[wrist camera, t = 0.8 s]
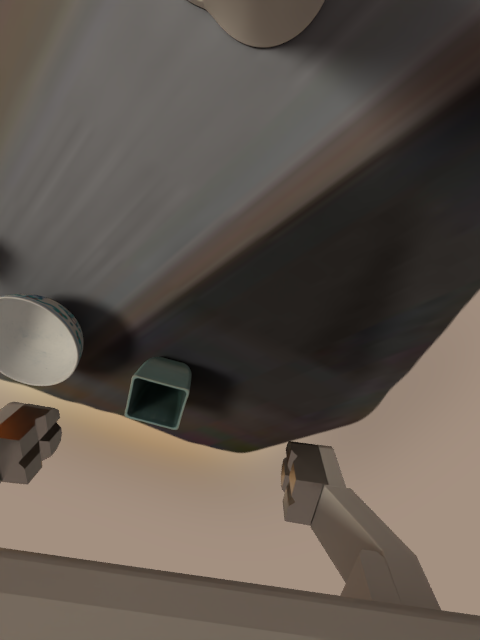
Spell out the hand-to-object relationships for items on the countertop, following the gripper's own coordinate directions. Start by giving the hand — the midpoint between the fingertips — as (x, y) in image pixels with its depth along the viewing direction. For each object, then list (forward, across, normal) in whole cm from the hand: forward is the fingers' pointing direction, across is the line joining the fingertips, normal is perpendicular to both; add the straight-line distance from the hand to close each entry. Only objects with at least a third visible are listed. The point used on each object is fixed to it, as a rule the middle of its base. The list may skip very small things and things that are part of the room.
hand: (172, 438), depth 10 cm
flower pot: (+38, +10, +22) cm, 44 cm away
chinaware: (+36, +29, +14) cm, 49 cm away
